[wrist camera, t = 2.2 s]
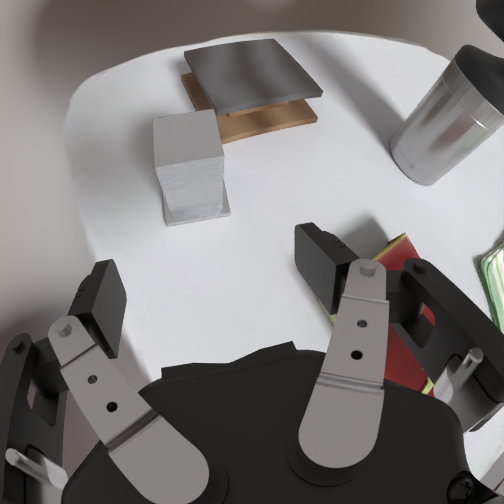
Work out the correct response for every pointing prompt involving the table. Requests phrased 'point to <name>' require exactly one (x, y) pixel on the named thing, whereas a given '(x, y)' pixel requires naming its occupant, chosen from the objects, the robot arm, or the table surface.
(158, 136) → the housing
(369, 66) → the table surface
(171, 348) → the table surface
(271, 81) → the stand
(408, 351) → the hardcover book
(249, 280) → the table surface
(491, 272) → the dish towel
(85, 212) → the table surface
